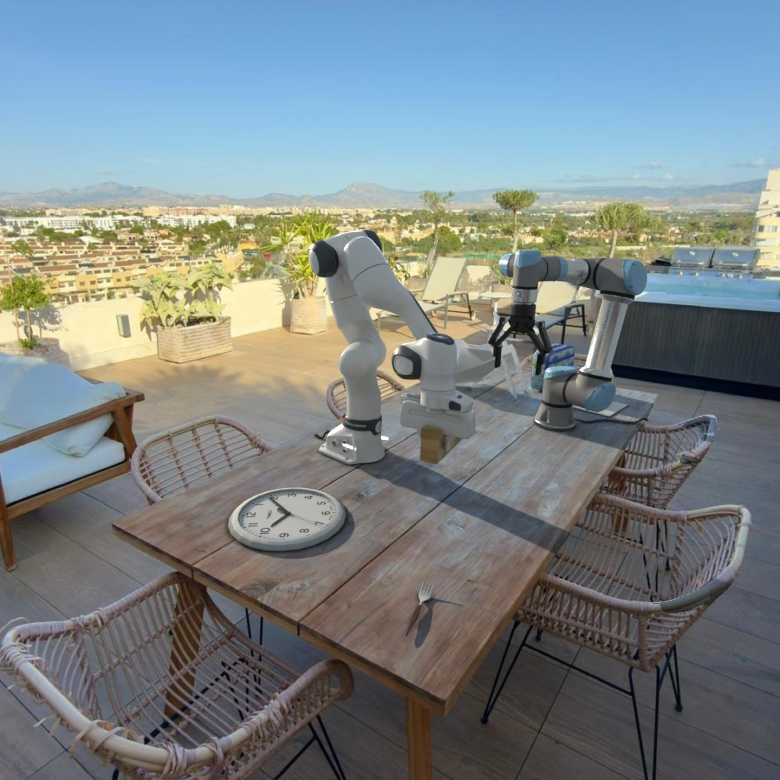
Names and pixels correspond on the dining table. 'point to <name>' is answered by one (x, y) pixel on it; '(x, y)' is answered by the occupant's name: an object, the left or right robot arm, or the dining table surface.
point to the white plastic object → (486, 362)
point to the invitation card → (608, 409)
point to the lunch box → (552, 362)
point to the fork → (423, 597)
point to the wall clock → (287, 519)
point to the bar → (434, 444)
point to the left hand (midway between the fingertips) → (435, 447)
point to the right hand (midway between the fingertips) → (517, 370)
